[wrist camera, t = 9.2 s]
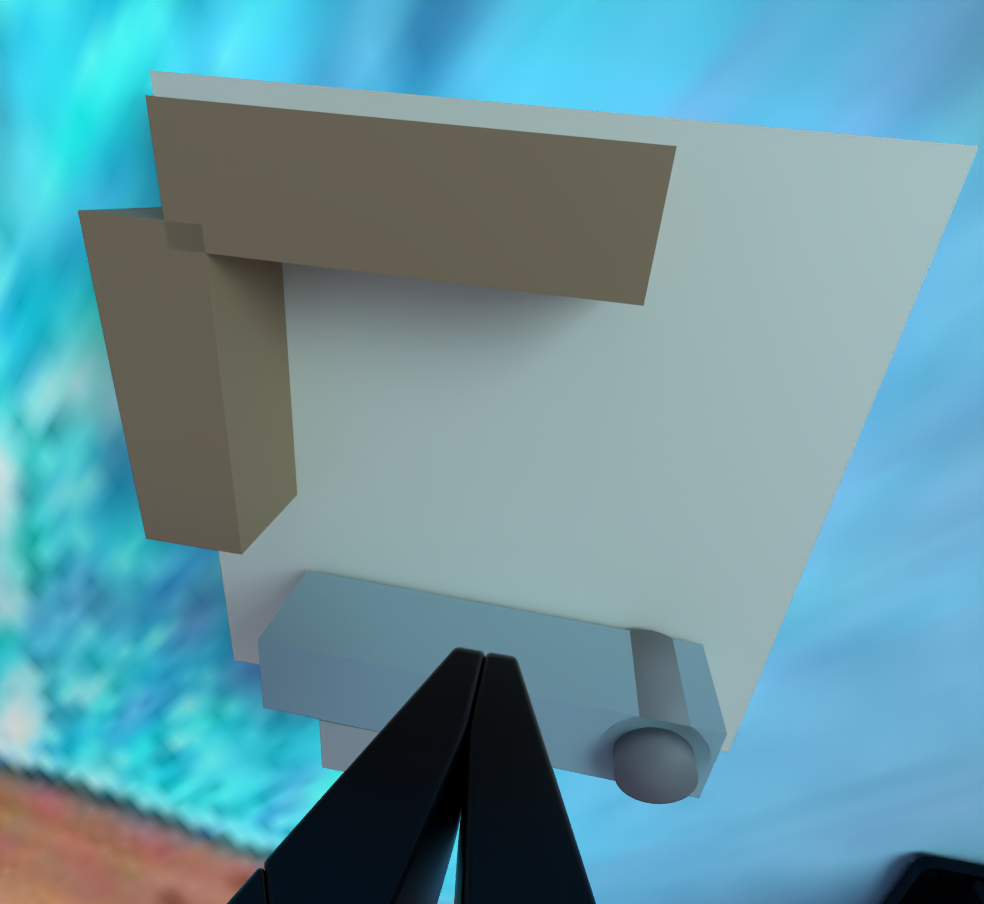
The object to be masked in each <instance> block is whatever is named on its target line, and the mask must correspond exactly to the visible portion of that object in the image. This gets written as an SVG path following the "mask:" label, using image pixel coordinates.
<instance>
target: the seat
mask: <svg viewBox="0 0 984 904" xmlns="http://www.w3.org/2000/svg"><path fill="white" fill-rule="evenodd" d="M150 75H151V82H152V89H153V96H147V95H145V96H146V102H147V109H148V116H149V123H150V129H151V136H152V143H153V150H154V156H155V163H156V170H157V177H158V183H159V190H160V197H161V204H162V207H154V208H129V209H104V210H79V211H78V214H79V219H80V224H81V228H82V233H83V238H84V243H85V248H86V252H87V257H88V262H89V267H90V272H91V276H92V281H93V286H94V291H95V296H96V300H97V305H98V310H99V315H100V320H101V324H102V329H103V334H104V339H105V344H106V348H107V353H108V358H109V363H110V368H111V372H112V377H113V382H114V387H115V392H116V396H117V401H118V406H119V411H120V416H121V420H122V425H123V430H124V435H125V440H126V444H127V449H128V454H129V459H130V464H131V468H132V473H133V478H134V483H135V488H136V492H137V497H138V502H139V507H140V512H141V516H142V521H143V526H144V531H145V536H146V539H152V540H158V541H164V542H169V543H175V544H181V545H187V546H193V547H199V548H205V549H211V550H217V551H219V558H220V565H221V572H222V579H223V586H224V593H225V600H226V607H227V614H228V621H229V628H230V635H231V642H232V649H233V656H234V660H236V661H241V662H247V663H252V664H258V665H260V663H259V652H258V639H259V638H260V636H261V635H262V633H263V632H264V631H265V629H266V628H267V626H268V625H269V624H270V622H271V621H272V619H273V618H274V617H275V615H276V614H277V612H278V611H279V610H280V608H281V607H282V605H283V604H284V603H285V601H286V600H287V598H288V597H289V596H290V594H291V593H292V591H293V590H294V589H295V587H296V586H297V584H298V583H299V582H300V580H301V579H302V577H303V576H304V575H305V573H306V572H307V570H310V571H315V572H320V573H326V574H331V575H336V576H342V577H347V578H352V579H357V580H363V581H368V582H373V583H379V584H384V585H389V586H395V587H400V588H405V589H411V590H416V591H421V592H427V593H432V594H437V595H443V596H448V597H453V598H459V599H464V600H469V601H475V602H480V603H485V604H491V605H496V606H501V607H507V608H512V609H517V610H523V611H528V612H533V613H539V614H544V615H549V616H555V617H560V618H565V619H571V620H576V621H581V622H587V623H592V624H597V625H603V626H608V627H613V628H619V629H624V630H629V631H630V630H651V631H656V632H659V633H662V634H665V635H667V636H669V637H671V638H672V639H677V640H683V641H688V642H693V643H699V644H703V647H704V650H705V654H706V658H707V661H708V665H709V669H710V672H711V676H712V680H713V683H714V687H715V691H716V694H717V698H718V702H719V705H720V709H721V713H722V716H723V720H724V724H725V727H726V731H727V736H726V738H725V740H724V742H723V745H722V747H721V749H720V751H725V752H729V750H730V748H731V745H732V743H733V741H734V738H735V736H736V733H737V731H738V729H739V726H740V724H741V721H742V719H743V716H744V714H745V712H746V709H747V707H748V704H749V702H750V699H751V697H752V695H753V692H754V690H755V687H756V685H757V683H758V680H759V678H760V675H761V673H762V670H763V668H764V666H765V663H766V661H767V658H768V656H769V654H770V651H771V649H772V646H773V644H774V641H775V639H776V637H777V634H778V632H779V629H780V627H781V624H782V622H783V620H784V617H785V615H786V612H787V610H788V608H789V605H790V603H791V600H792V598H793V595H794V593H795V591H796V588H797V586H798V583H799V581H800V578H801V576H802V574H803V571H804V569H805V566H806V564H807V562H808V559H809V557H810V554H811V552H812V549H813V547H814V545H815V542H816V540H817V537H818V535H819V533H820V530H821V528H822V525H823V523H824V520H825V518H826V516H827V513H828V511H829V508H830V506H831V503H832V501H833V499H834V496H835V494H836V491H837V489H838V487H839V484H840V482H841V479H842V477H843V474H844V472H845V470H846V467H847V465H848V462H849V460H850V457H851V455H852V453H853V450H854V448H855V445H856V443H857V441H858V438H859V436H860V433H861V431H862V428H863V426H864V424H865V421H866V419H867V416H868V414H869V411H870V409H871V407H872V404H873V402H874V399H875V397H876V395H877V392H878V390H879V387H880V385H881V382H882V380H883V378H884V375H885V373H886V370H887V368H888V366H889V363H890V361H891V358H892V356H893V353H894V351H895V349H896V346H897V344H898V341H899V339H900V336H901V334H902V332H903V329H904V327H905V324H906V322H907V320H908V317H909V315H910V312H911V310H912V307H913V305H914V303H915V300H916V298H917V295H918V293H919V290H920V288H921V286H922V283H923V281H924V278H925V276H926V274H927V271H928V269H929V266H930V264H931V261H932V259H933V257H934V254H935V252H936V249H937V247H938V245H939V242H940V240H941V237H942V235H943V232H944V230H945V228H946V225H947V223H948V220H949V218H950V215H951V213H952V211H953V208H954V206H955V203H956V201H957V199H958V196H959V194H960V191H961V189H962V186H963V184H964V182H965V179H966V177H967V174H968V172H969V169H970V167H971V165H972V162H973V160H974V157H975V155H976V153H977V150H978V148H979V146H971V145H960V144H950V143H939V142H928V141H917V140H906V139H895V138H884V137H873V136H862V135H851V134H840V133H829V132H818V131H807V130H796V129H785V128H774V127H763V126H752V125H742V124H731V123H720V122H709V121H698V120H687V119H676V118H665V117H654V116H643V115H632V114H621V113H610V112H599V111H588V110H577V109H566V108H555V107H544V106H534V105H523V104H512V103H501V102H490V101H479V100H468V99H457V98H446V97H435V96H424V95H413V94H402V93H391V92H380V91H369V90H358V89H347V88H336V87H326V86H315V85H304V84H293V83H282V82H271V81H260V80H249V79H238V78H227V77H216V76H205V75H194V74H183V73H172V72H161V71H150ZM319 722H320V739H321V757H322V767H323V768H328V769H333V770H338V771H343V772H345V770H346V769H347V768H348V767H349V766H350V765H351V764H352V763H353V761H354V760H355V759H356V758H357V757H358V756H359V755H360V754H361V752H362V751H363V750H364V749H365V748H366V747H367V746H368V745H369V743H370V742H371V741H372V740H373V739H374V738H375V737H376V736H377V734H378V733H379V731H374V730H369V729H365V728H360V727H355V726H350V725H345V724H341V723H336V722H331V721H326V720H321V719H320V721H319Z"/></svg>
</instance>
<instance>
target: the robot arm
mask: <svg viewBox="0 0 984 904" xmlns="http://www.w3.org/2000/svg"><path fill="white" fill-rule="evenodd" d="M460 817H461V819H460ZM459 822H460V829H459V840H458V851H457V866H456V882H455V898H454V904H596V902H595V899H594V896H593V893H592V889H591V886H590V883H589V880H588V877H587V874H586V871H585V868H584V865H583V861H582V858H581V855H580V852H579V849H578V846H577V843H576V840H575V837H574V834H573V830H572V827H571V824H570V821H569V818H568V815H567V812H566V809H565V806H564V802H563V799H562V796H561V793H560V790H559V787H558V784H557V781H556V778H555V774H554V771H553V768H552V765H551V762H550V759H549V756H548V753H547V750H546V746H545V743H544V740H543V737H542V734H541V731H540V728H539V725H538V722H537V719H536V715H535V712H534V709H533V706H532V703H531V700H530V697H529V694H528V691H527V687H526V684H525V681H524V678H523V675H522V672H521V669H520V666H519V663H518V661H517V659H516V658H515V657H514V656H510V655H505V654H499V653H493V652H490V653H488V654H487V655H486V657H485V654H484V652H483V651H481V650H476V649H470V648H464V647H456V648H454V649H453V650H452V651H451V652H450V653H449V654H448V656H447V657H446V658H445V659H444V660H443V661H442V662H441V663H440V665H439V666H438V667H437V668H436V669H435V670H434V671H433V672H432V674H431V675H430V676H429V677H428V678H427V679H426V680H425V681H424V683H423V684H422V685H421V686H420V687H419V688H418V689H417V690H416V692H415V693H414V694H413V695H412V696H411V697H410V698H409V699H408V701H407V702H406V703H405V704H404V705H403V706H402V707H401V709H400V710H399V711H398V712H397V713H396V714H395V715H394V716H393V718H392V719H391V720H390V721H389V722H388V723H387V724H386V725H385V727H384V728H383V729H382V730H381V731H380V732H379V733H378V734H377V736H376V737H375V738H374V739H373V740H372V741H371V742H370V743H369V745H368V746H367V747H366V748H365V749H364V750H363V751H362V752H361V754H360V755H359V756H358V757H357V758H356V759H355V760H354V761H353V763H352V764H351V765H350V766H349V767H348V768H347V769H346V770H345V772H344V773H343V774H342V775H341V776H340V777H339V778H338V779H337V781H336V782H335V783H334V784H333V785H332V786H331V787H330V788H329V790H328V791H327V792H326V793H325V794H324V795H323V796H322V797H321V799H320V800H319V801H318V802H317V803H316V804H315V805H314V806H313V808H312V809H311V810H310V811H309V812H308V813H307V814H306V815H305V817H304V818H303V819H302V820H301V821H300V822H299V823H298V824H297V826H296V827H295V828H294V829H293V830H292V831H291V832H290V833H289V835H288V836H287V837H286V838H285V839H284V840H283V841H282V842H281V844H280V845H279V846H278V847H277V848H276V849H275V850H274V852H273V853H272V854H271V855H270V856H269V857H268V858H267V859H266V861H265V863H264V869H265V871H264V869H263V868H259V869H257V870H256V871H255V872H254V874H253V875H252V876H251V877H250V878H249V879H248V880H247V881H246V883H245V884H244V885H243V886H242V887H241V888H240V889H239V890H238V892H237V893H236V894H235V895H234V896H233V897H232V898H231V899H230V901H229V902H228V903H227V904H437V903H438V899H439V896H440V892H441V889H442V885H443V882H444V878H445V875H446V871H447V868H448V864H449V861H450V857H451V854H452V850H453V847H454V843H455V839H456V835H457V831H458V827H459ZM884 904H984V866H979V865H974V864H968V863H963V862H958V861H953V860H948V859H943V858H938V857H930V856H927V857H921V858H919V859H917V860H916V861H915V862H914V863H913V864H912V865H911V867H910V868H909V870H908V871H907V872H906V874H905V875H904V877H903V878H902V879H901V881H900V882H899V884H898V885H897V886H896V888H895V889H894V891H893V892H892V893H891V895H890V896H889V897H888V899H887V900H886V902H885V903H884Z"/></svg>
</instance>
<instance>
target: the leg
mask: <svg viewBox="0 0 984 904" xmlns="http://www.w3.org/2000/svg"><path fill="white" fill-rule="evenodd" d="M456 647H464V648H470V649H476V650H481V651H483V652H484V654H485V657H486V655H487V654H488V653H490V652H493V653H499V654H505V655H510V656H514V657H515V658H516V659H517V661H518V663H519V666H520V669H521V672H522V675H523V678H524V681H525V684H526V687H527V691H528V694H529V697H530V700H531V703H532V706H533V709H534V712H535V715H536V719H537V722H538V725H539V728H540V731H541V734H542V737H543V740H544V743H545V746H546V750H547V753H548V756H549V759H550V762H551V765H552V768H556V769H561V770H566V771H571V772H576V773H580V774H585V775H590V776H595V777H600V778H604V779H609V780H614V781H616V783H617V785H618V787H619V788H620V789H621V790H622V791H623V792H624V793H625V794H627V795H628V796H630V797H632V798H634V799H636V800H639V801H642V802H646V803H652V804H667V803H673V802H677V801H679V800H682V799H684V798H686V797H687V796H691V797H695V798H699V797H700V795H701V792H702V790H703V788H704V786H705V783H706V781H707V779H708V777H709V774H710V772H711V770H712V767H713V765H714V763H715V761H716V758H717V756H718V754H719V751H720V749H721V747H722V745H723V742H724V740H725V738H726V736H727V731H726V727H725V724H724V720H723V716H722V713H721V709H720V705H719V702H718V698H717V694H716V691H715V687H714V683H713V680H712V676H711V672H710V669H709V665H708V661H707V658H706V654H705V650H704V647H703V644H699V643H693V642H688V641H683V640H677V639H672V638H671V637H669V636H667V635H665V634H662V633H659V632H656V631H651V630H630V631H629V630H624V629H619V628H613V627H608V626H603V625H597V624H592V623H587V622H581V621H576V620H571V619H565V618H560V617H555V616H549V615H544V614H539V613H533V612H528V611H523V610H517V609H512V608H507V607H501V606H496V605H491V604H485V603H480V602H475V601H469V600H464V599H459V598H453V597H448V596H443V595H437V594H432V593H427V592H421V591H416V590H411V589H405V588H400V587H395V586H389V585H384V584H379V583H373V582H368V581H363V580H357V579H352V578H347V577H342V576H336V575H331V574H326V573H320V572H315V571H310V570H307V572H306V573H305V575H304V576H303V577H302V579H301V580H300V582H299V583H298V584H297V586H296V587H295V589H294V590H293V591H292V593H291V594H290V596H289V597H288V598H287V600H286V601H285V603H284V604H283V605H282V607H281V608H280V610H279V611H278V612H277V614H276V615H275V617H274V618H273V619H272V621H271V622H270V624H269V625H268V626H267V628H266V629H265V631H264V632H263V633H262V635H261V636H260V638H259V639H258V652H259V663H260V674H261V685H262V697H263V707H264V708H269V709H274V710H278V711H283V712H288V713H293V714H297V715H302V716H307V717H312V718H317V719H321V720H326V721H331V722H336V723H341V724H345V725H350V726H355V727H360V728H365V729H369V730H374V731H379V732H380V731H381V730H382V729H383V728H384V727H385V725H386V724H387V723H388V722H389V721H390V720H391V719H392V718H393V716H394V715H395V714H396V713H397V712H398V711H399V710H400V709H401V707H402V706H403V705H404V704H405V703H406V702H407V701H408V699H409V698H410V697H411V696H412V695H413V694H414V693H415V692H416V690H417V689H418V688H419V687H420V686H421V685H422V684H423V683H424V681H425V680H426V679H427V678H428V677H429V676H430V675H431V674H432V672H433V671H434V670H435V669H436V668H437V667H438V666H439V665H440V663H441V662H442V661H443V660H444V659H445V658H446V657H447V656H448V654H449V653H450V652H451V651H452V650H453V649H454V648H456Z"/></svg>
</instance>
